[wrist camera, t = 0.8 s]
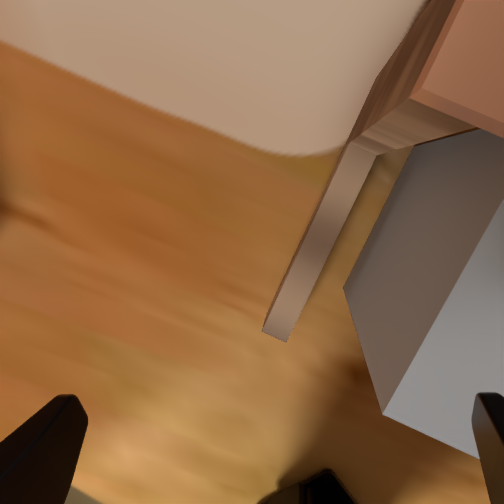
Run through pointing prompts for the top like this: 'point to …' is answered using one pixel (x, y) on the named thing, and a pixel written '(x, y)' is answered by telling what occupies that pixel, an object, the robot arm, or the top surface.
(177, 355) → the top surface
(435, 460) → the top surface
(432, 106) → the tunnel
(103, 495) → the top surface
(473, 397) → the tall block
